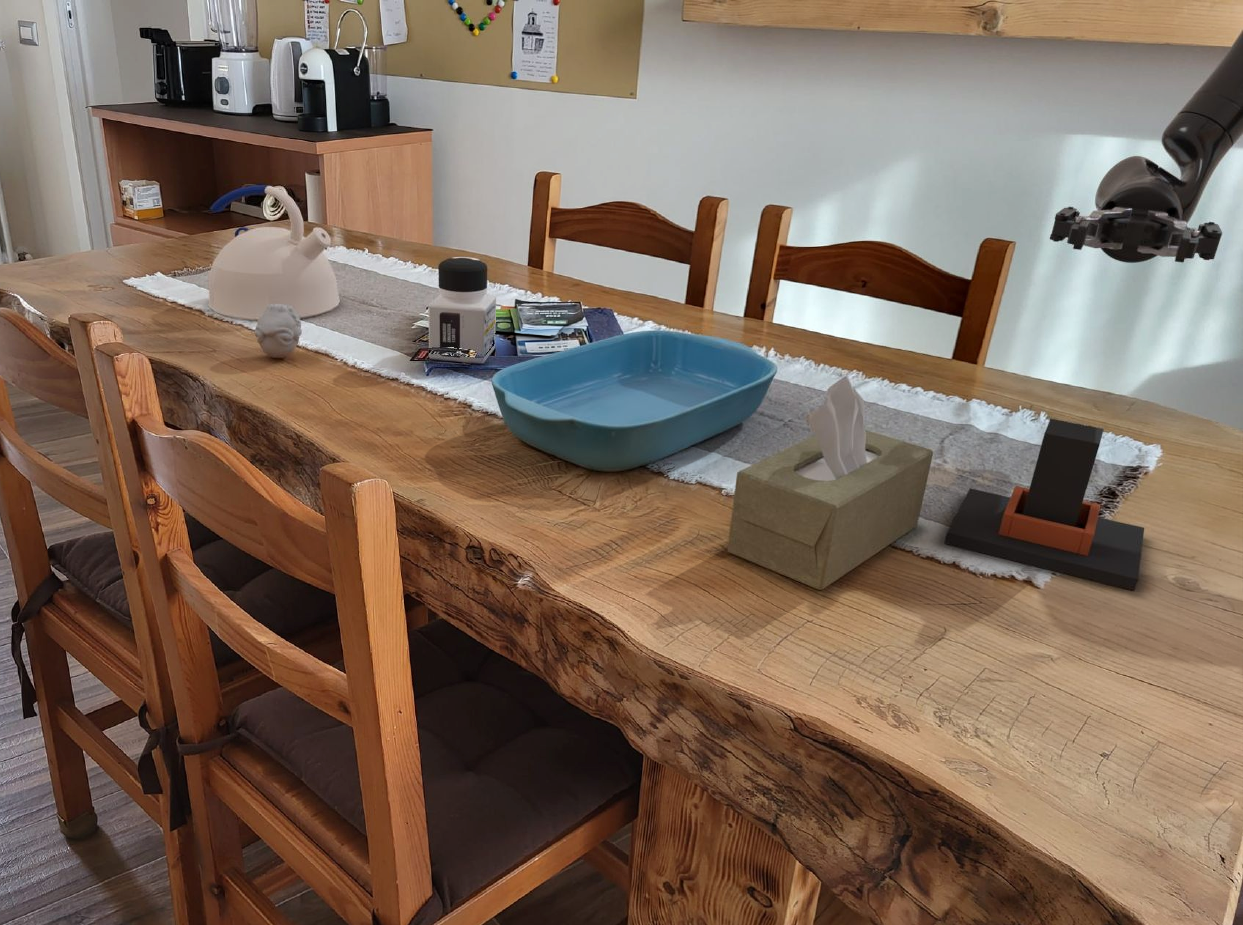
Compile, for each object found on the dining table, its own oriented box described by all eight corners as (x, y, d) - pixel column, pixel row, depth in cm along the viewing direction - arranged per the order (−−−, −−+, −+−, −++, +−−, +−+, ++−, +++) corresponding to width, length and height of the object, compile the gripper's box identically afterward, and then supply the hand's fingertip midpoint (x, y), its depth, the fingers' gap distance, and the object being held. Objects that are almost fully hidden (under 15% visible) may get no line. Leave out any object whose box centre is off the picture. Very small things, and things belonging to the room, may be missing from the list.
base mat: (1140, 538, 100) (1151, 506, 98) (1134, 591, 90) (1145, 556, 89) (967, 498, 107) (974, 468, 105) (944, 543, 97) (952, 511, 96)
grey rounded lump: (312, 351, 143) (308, 301, 140) (289, 366, 137) (285, 314, 134) (271, 347, 144) (267, 297, 141) (247, 361, 138) (242, 310, 135)
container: (483, 364, 140) (484, 268, 135) (428, 359, 142) (427, 264, 136) (495, 348, 147) (497, 256, 141) (442, 344, 148) (442, 252, 142)
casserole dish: (600, 502, 103) (605, 435, 99) (452, 438, 116) (452, 377, 113) (801, 417, 126) (810, 360, 123) (658, 371, 140) (663, 320, 137)
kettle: (296, 328, 153) (287, 201, 144) (180, 310, 159) (164, 188, 151) (365, 297, 170) (360, 182, 161) (257, 282, 176) (247, 171, 168)
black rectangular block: (1074, 526, 99) (1103, 428, 94) (1069, 545, 95) (1099, 444, 91) (1024, 515, 101) (1050, 418, 96) (1017, 532, 97) (1044, 433, 93)
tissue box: (829, 494, 106) (855, 344, 99) (918, 526, 100) (954, 369, 93) (723, 553, 94) (745, 386, 87) (819, 593, 88) (850, 418, 81)
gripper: (1205, 265, 107) (1205, 297, 94) (1055, 246, 113) (1036, 274, 100) (1229, 189, 103) (1233, 211, 91) (1073, 174, 110) (1056, 193, 97)
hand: (1129, 244), depth 96 cm, fingers open, 8 cm apart
